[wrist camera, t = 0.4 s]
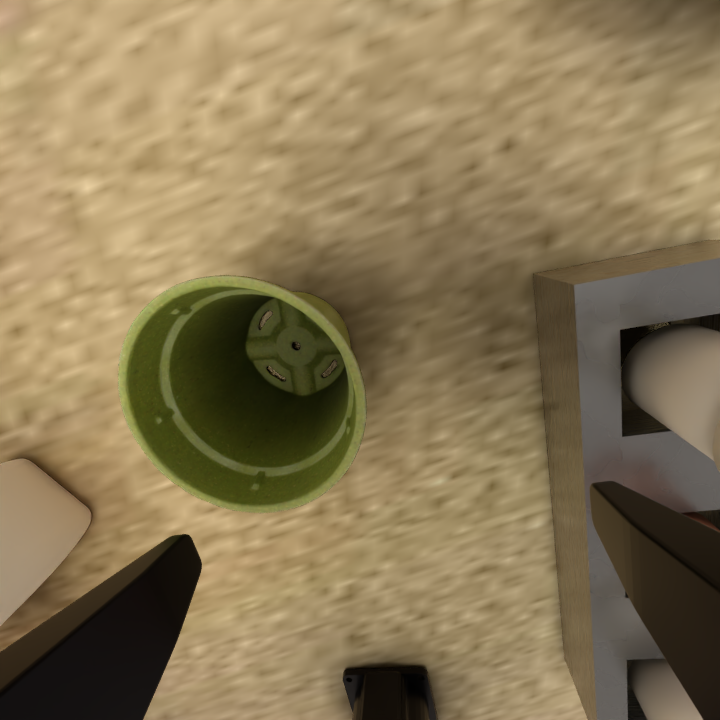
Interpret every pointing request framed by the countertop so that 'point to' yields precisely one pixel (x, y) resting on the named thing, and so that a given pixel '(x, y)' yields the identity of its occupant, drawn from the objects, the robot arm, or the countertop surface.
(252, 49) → the countertop surface
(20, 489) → the white plastic jug
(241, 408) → the plant pot
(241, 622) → the countertop surface
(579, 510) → the socket block
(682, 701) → the ivory plug far
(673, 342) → the ivory plug near
